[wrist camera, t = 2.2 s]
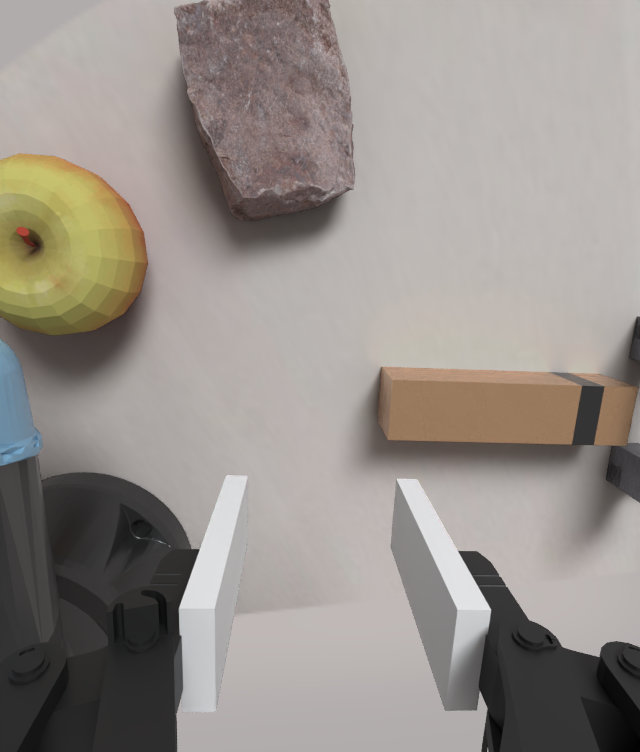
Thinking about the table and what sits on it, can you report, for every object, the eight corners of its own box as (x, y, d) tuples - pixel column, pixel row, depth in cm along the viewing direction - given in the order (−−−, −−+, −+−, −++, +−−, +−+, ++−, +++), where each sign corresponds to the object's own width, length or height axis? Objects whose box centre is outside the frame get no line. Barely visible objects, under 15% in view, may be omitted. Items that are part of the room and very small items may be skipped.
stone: (366, 196, 30) (378, 183, 26) (236, 233, 31) (224, 227, 26) (319, -6, 28) (322, -60, 23) (176, 37, 28) (152, -9, 23)
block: (377, 420, 34) (388, 439, 30) (381, 366, 33) (392, 379, 29) (589, 426, 34) (626, 445, 31) (599, 373, 34) (638, 387, 30)
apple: (167, 184, 29) (119, 153, 22) (158, 335, 32) (112, 356, 24) (7, 161, 29) (-102, 120, 21) (9, 316, 31) (-89, 332, 23)
